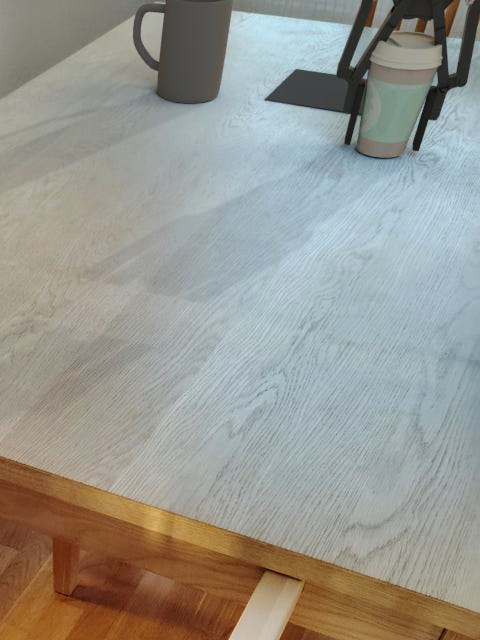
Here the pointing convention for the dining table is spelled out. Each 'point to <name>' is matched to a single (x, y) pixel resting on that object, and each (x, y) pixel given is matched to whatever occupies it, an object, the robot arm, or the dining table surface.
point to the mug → (188, 47)
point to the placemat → (313, 90)
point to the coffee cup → (396, 91)
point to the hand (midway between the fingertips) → (381, 143)
